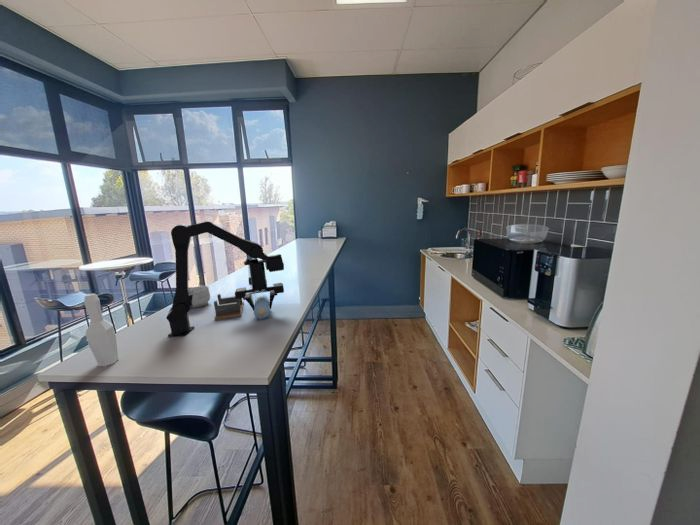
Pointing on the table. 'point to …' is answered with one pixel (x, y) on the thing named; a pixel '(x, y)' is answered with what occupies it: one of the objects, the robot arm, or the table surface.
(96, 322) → the low poly bottle
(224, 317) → the holder
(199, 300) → the teacup
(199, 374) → the table surface
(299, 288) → the table surface
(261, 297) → the roll
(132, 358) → the table surface
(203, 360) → the table surface
